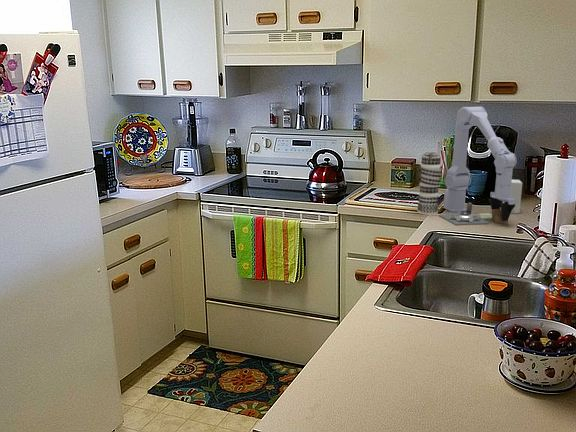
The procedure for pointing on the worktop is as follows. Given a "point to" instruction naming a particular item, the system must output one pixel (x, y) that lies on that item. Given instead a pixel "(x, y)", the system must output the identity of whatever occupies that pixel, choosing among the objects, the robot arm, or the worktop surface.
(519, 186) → the small box
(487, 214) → the timing pad
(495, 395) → the worktop surface
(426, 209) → the decorative candle
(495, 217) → the link block
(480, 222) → the slate board
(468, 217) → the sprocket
